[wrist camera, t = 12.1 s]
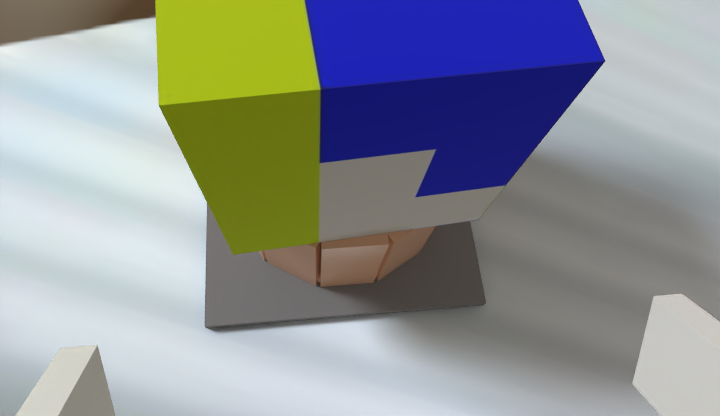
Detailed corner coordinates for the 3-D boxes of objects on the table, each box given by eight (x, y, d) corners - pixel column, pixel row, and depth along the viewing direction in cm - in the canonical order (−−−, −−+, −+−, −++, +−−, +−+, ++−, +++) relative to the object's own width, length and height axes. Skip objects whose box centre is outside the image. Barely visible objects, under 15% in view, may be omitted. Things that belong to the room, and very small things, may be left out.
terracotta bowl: (236, 293, 25) (213, 256, 19) (235, 106, 29) (216, 32, 24) (452, 276, 26) (489, 237, 21) (421, 99, 30) (445, 28, 25)
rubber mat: (206, 328, 25) (204, 326, 24) (211, 91, 30) (209, 85, 29) (483, 305, 26) (485, 302, 26) (439, 83, 31) (441, 78, 31)
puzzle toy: (478, 219, 21) (605, 60, 12) (233, 254, 19) (158, 105, 10) (424, 31, 25) (488, -201, 15) (215, 49, 23) (148, -195, 14)
